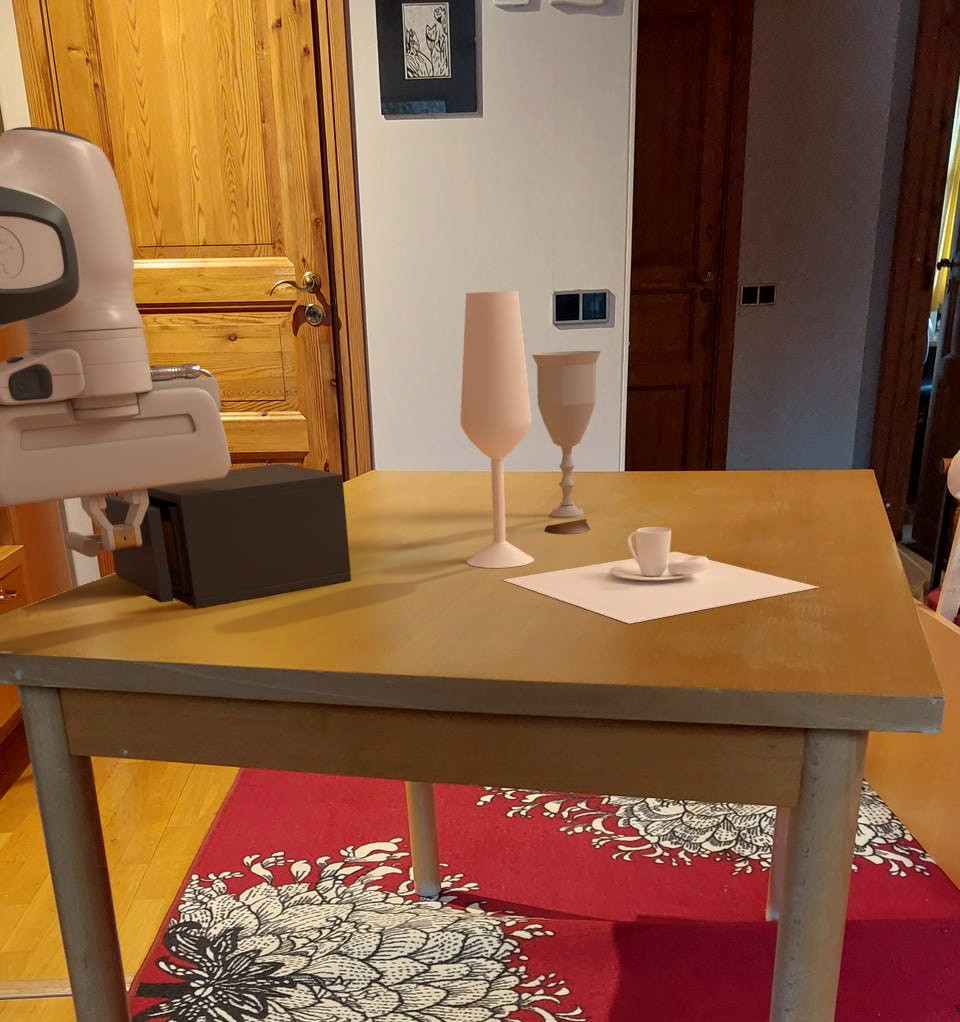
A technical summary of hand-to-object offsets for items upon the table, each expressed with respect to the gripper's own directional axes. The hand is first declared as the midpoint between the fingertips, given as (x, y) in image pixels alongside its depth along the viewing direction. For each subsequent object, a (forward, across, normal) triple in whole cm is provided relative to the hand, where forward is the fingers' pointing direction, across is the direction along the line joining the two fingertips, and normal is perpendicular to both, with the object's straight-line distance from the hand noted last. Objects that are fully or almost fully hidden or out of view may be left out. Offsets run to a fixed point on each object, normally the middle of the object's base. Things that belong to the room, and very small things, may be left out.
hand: (123, 547), depth 98 cm
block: (+4, -8, -5) cm, 10 cm away
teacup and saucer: (+6, -40, +22) cm, 46 cm away
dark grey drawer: (+5, -7, -5) cm, 10 cm away
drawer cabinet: (+6, -13, -4) cm, 15 cm away
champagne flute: (+6, -36, +4) cm, 37 cm away
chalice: (+6, -51, -4) cm, 51 cm away
